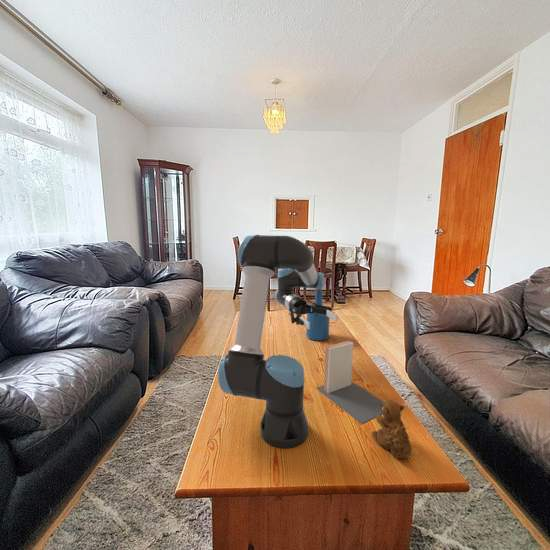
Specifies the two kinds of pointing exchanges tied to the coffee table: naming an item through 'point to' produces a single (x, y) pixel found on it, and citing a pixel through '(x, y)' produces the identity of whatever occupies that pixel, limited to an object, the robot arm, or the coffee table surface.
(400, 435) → the stuffed squirrel
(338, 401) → the mat
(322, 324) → the wine bottle
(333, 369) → the tile
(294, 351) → the coffee table surface
